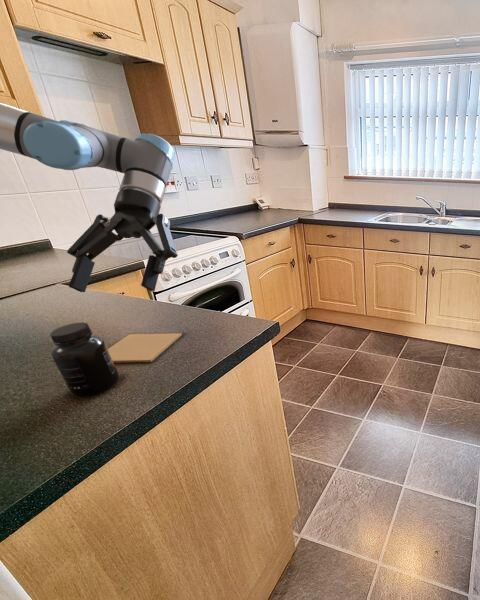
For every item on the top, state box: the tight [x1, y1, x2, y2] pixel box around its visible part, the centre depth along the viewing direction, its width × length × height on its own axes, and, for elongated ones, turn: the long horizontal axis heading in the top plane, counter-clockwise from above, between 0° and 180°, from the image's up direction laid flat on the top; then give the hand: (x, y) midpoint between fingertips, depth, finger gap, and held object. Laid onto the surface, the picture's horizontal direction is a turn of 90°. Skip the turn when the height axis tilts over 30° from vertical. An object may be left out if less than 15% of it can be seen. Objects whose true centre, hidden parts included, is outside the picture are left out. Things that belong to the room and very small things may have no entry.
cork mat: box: [107, 332, 183, 364], centre depth 73 cm, size 12×11×1 cm
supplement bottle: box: [49, 321, 120, 398], centre depth 59 cm, size 7×7×12 cm
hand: (112, 289), depth 65 cm, fingers open, 13 cm apart
